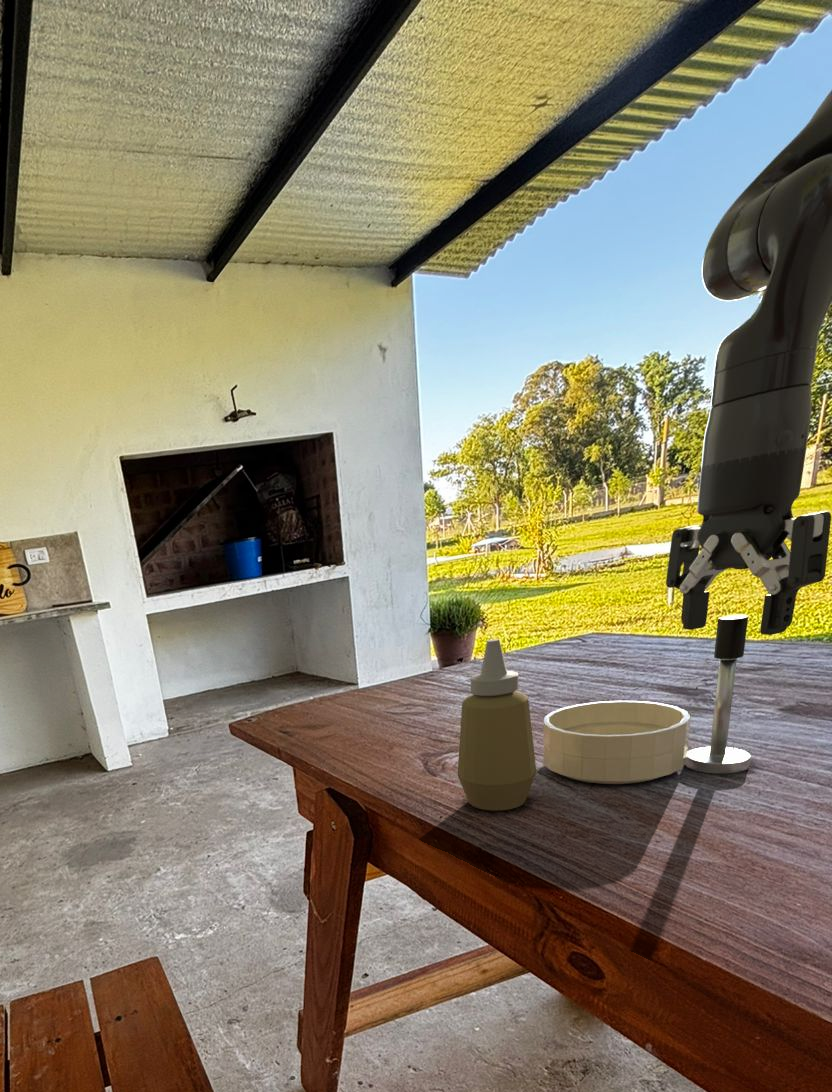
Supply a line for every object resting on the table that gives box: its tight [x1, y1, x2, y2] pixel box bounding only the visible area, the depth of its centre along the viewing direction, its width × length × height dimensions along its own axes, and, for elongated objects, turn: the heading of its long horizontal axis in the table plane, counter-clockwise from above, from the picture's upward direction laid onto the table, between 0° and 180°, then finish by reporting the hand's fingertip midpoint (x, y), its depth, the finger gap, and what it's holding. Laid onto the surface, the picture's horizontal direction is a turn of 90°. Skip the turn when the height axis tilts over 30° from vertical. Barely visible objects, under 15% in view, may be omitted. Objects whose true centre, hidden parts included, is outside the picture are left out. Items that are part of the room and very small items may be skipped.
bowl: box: [542, 700, 692, 785], centre depth 71 cm, size 14×14×6 cm
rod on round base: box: [684, 614, 751, 775], centre depth 65 cm, size 6×6×16 cm
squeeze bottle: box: [457, 638, 537, 812], centre depth 66 cm, size 8×8×18 cm
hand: (730, 630), depth 63 cm, fingers open, 8 cm apart
